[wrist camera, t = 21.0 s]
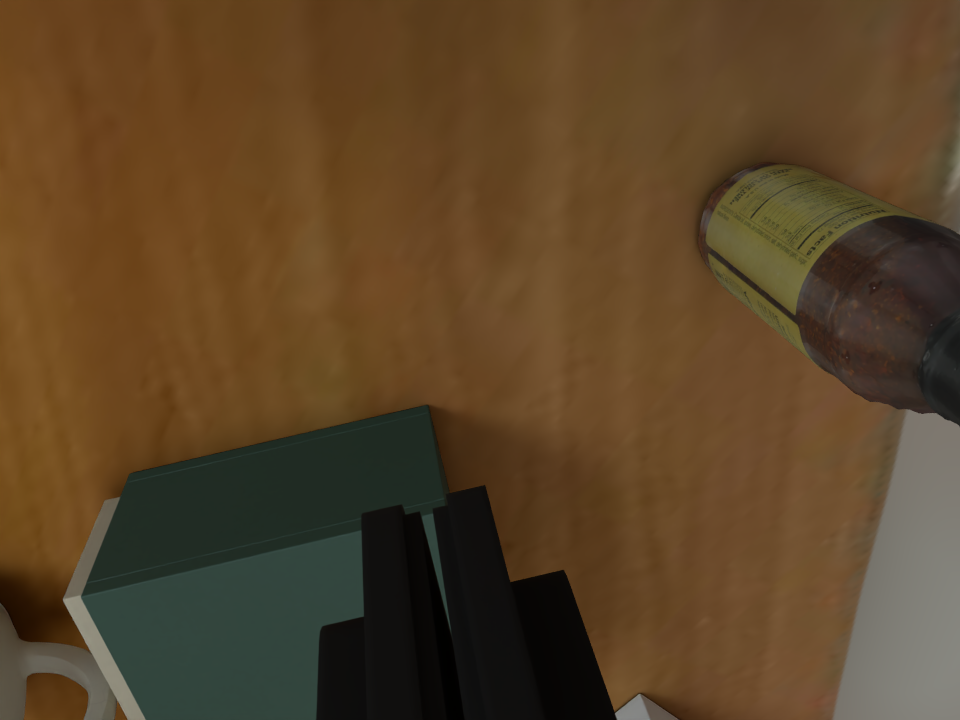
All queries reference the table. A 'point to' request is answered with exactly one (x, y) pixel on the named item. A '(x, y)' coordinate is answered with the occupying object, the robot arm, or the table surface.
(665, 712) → the milk
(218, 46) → the table surface
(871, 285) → the sauce bottle
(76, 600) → the drawer
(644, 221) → the table surface
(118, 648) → the cabinet
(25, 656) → the pitcher
